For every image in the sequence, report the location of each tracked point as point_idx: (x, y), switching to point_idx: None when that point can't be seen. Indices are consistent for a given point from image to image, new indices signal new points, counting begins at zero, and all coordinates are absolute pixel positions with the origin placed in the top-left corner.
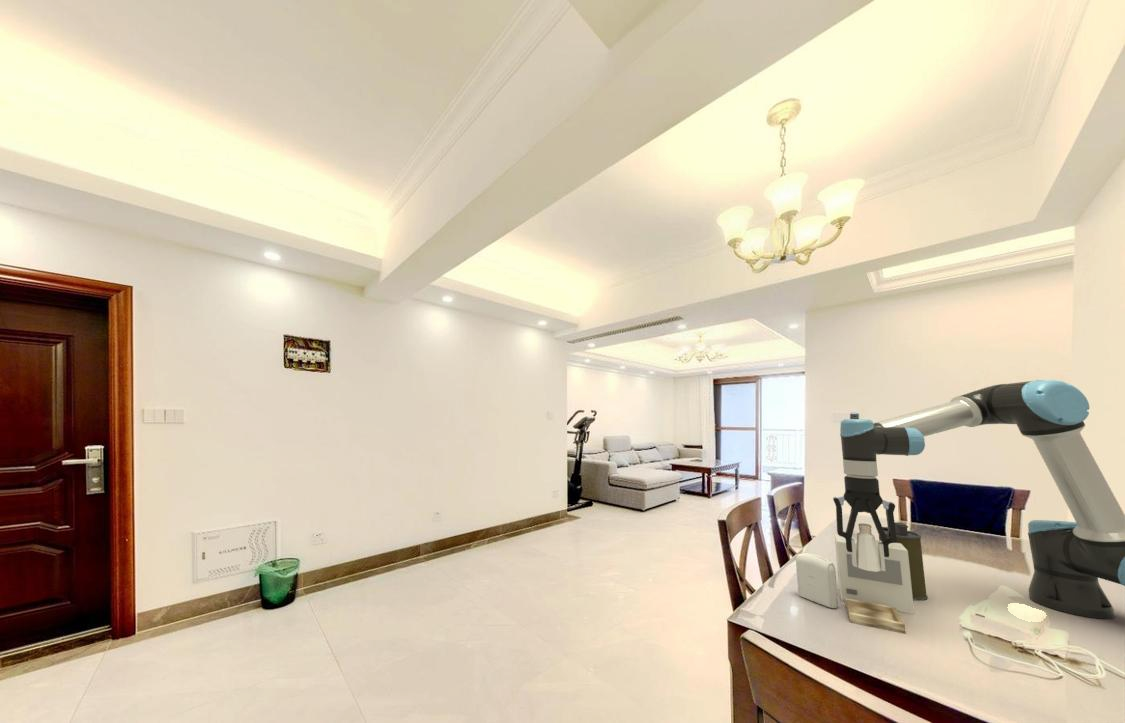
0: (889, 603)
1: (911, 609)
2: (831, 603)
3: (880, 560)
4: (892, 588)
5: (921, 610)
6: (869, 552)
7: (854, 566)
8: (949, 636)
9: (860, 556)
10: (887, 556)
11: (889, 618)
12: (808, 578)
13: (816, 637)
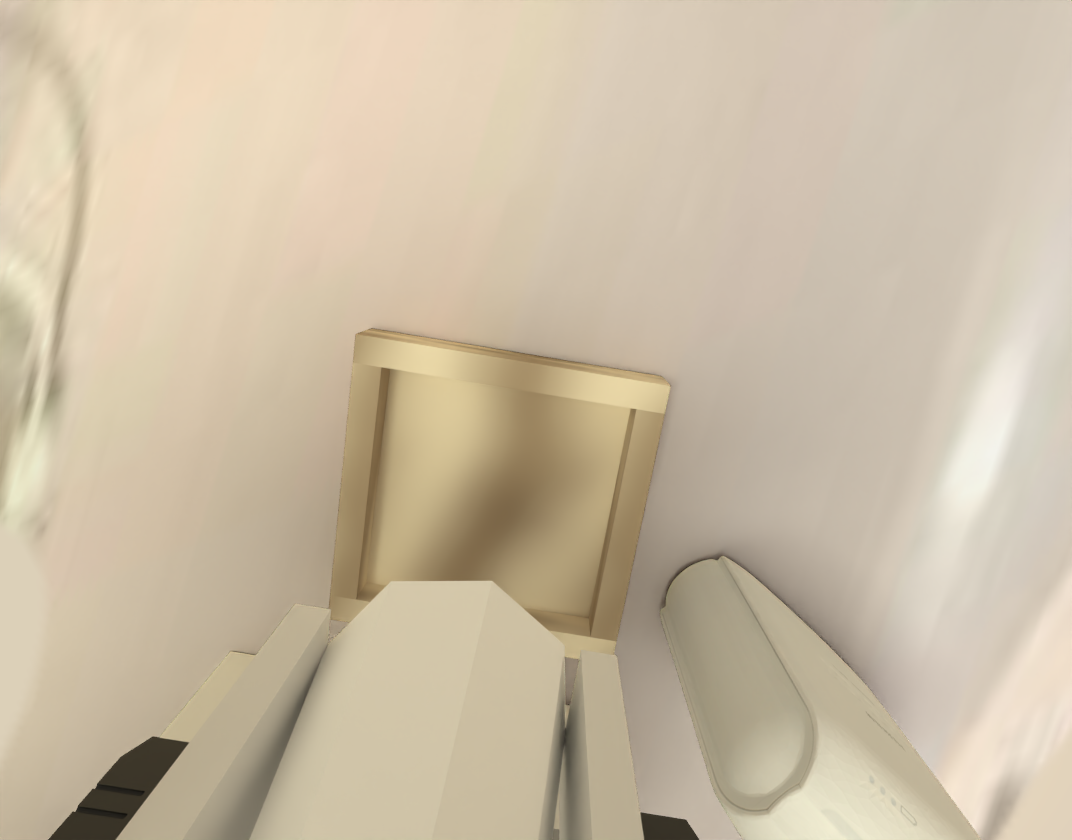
0: None
1: (230, 668)
2: (719, 572)
3: (284, 719)
4: None
5: None
6: (401, 745)
7: (607, 655)
8: (133, 393)
9: (533, 730)
10: (157, 748)
11: (402, 498)
12: (891, 731)
13: (978, 21)
